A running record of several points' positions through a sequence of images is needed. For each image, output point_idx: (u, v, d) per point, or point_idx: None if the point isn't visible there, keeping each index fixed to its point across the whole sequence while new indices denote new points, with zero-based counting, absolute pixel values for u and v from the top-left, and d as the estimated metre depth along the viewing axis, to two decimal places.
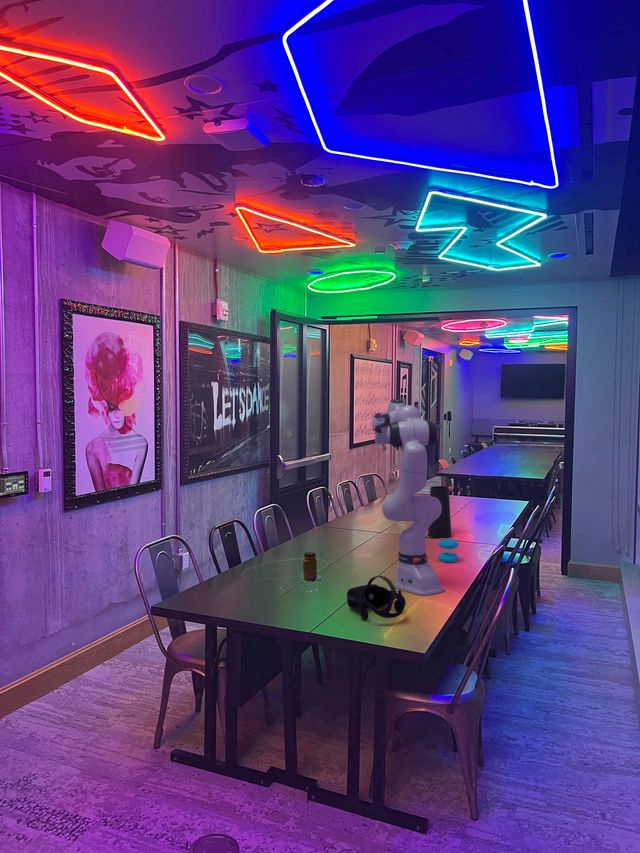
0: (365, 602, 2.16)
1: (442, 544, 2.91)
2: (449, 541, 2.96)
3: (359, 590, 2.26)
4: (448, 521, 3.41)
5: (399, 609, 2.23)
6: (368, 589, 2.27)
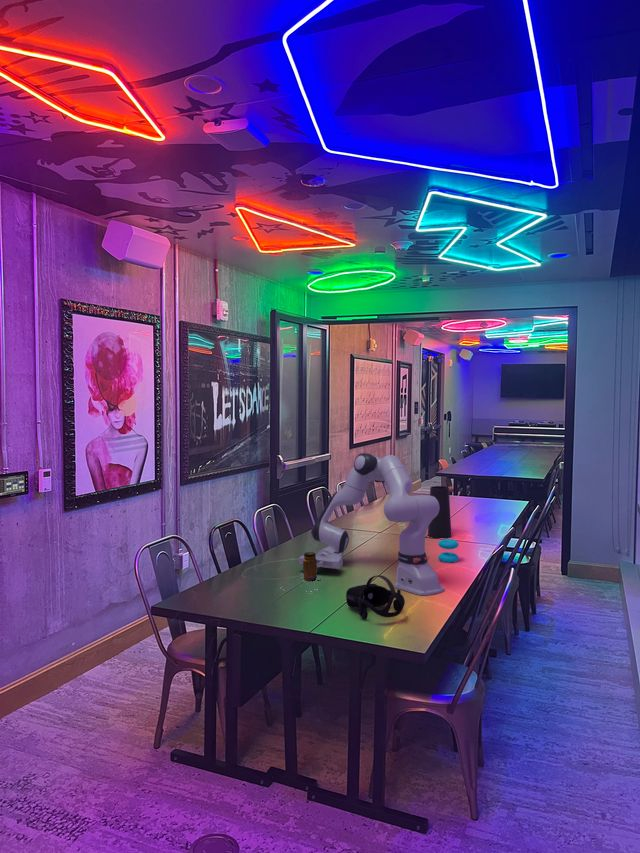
0: (364, 601, 2.17)
1: (442, 544, 2.91)
2: (449, 541, 2.96)
3: (358, 589, 2.27)
4: (448, 521, 3.41)
5: (398, 608, 2.24)
6: (367, 588, 2.28)
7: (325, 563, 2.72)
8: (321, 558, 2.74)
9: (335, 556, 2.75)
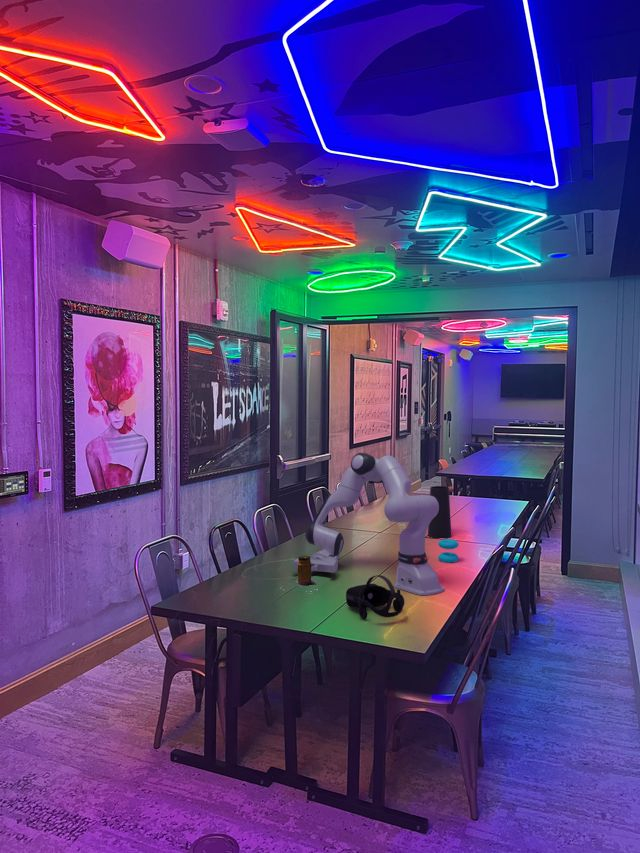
0: (364, 601, 2.17)
1: (442, 544, 2.91)
2: (449, 541, 2.96)
3: (358, 589, 2.27)
4: (448, 521, 3.41)
5: (398, 608, 2.24)
6: (367, 588, 2.28)
7: (320, 567, 2.66)
8: (316, 561, 2.68)
9: (330, 559, 2.70)
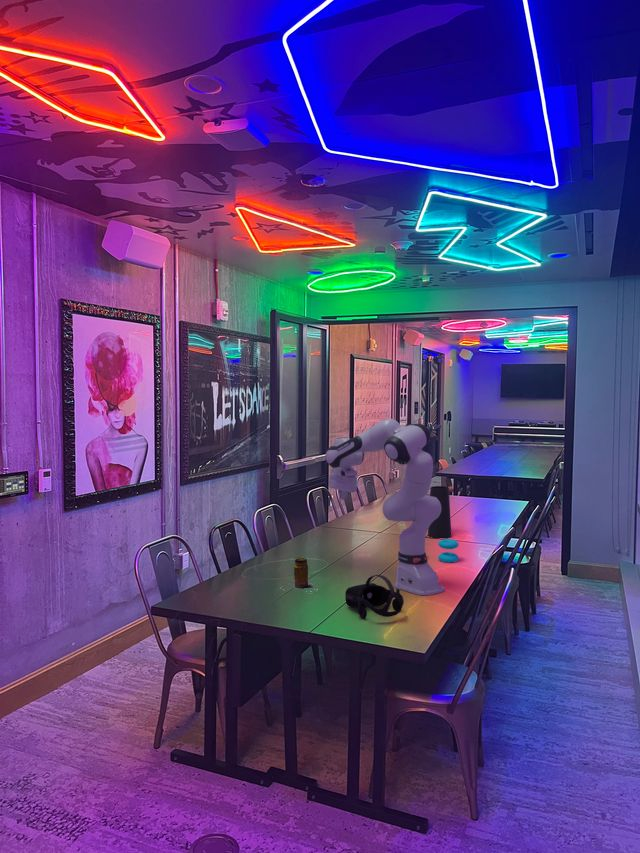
0: (363, 601, 2.18)
1: (442, 544, 2.91)
2: (449, 541, 2.96)
3: (357, 589, 2.27)
4: (448, 521, 3.41)
5: (397, 608, 2.24)
6: (366, 588, 2.28)
7: None
8: (340, 486, 2.81)
9: (345, 479, 2.76)
